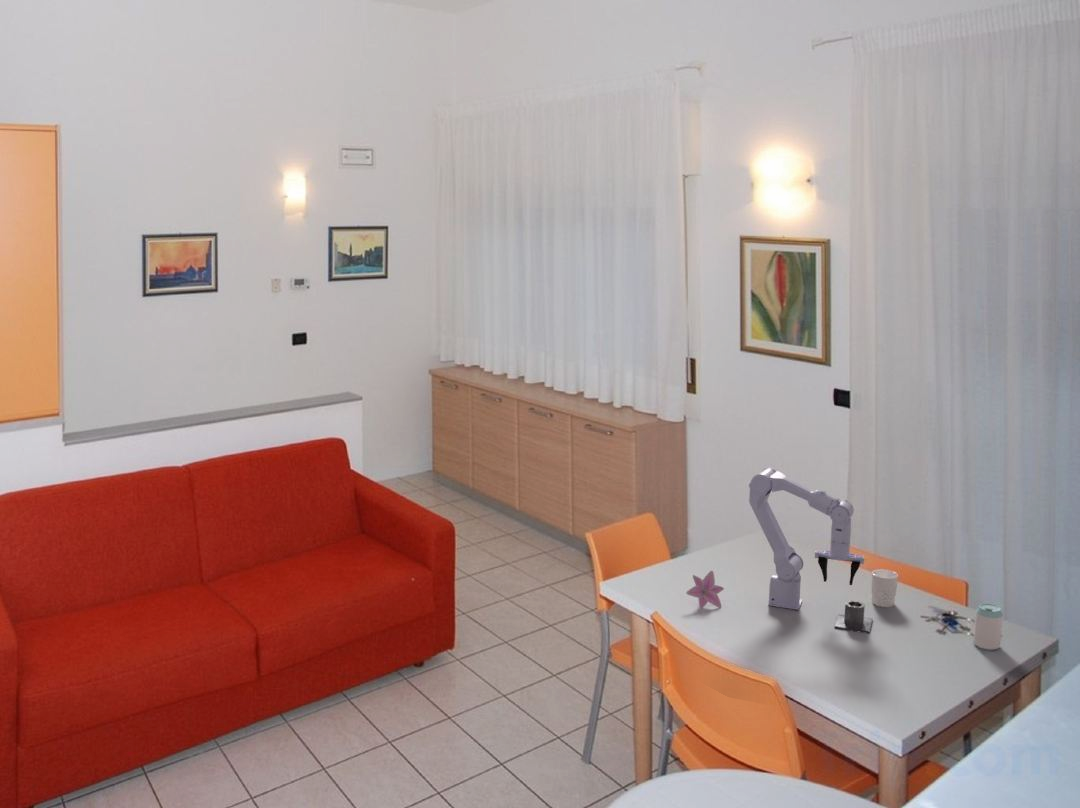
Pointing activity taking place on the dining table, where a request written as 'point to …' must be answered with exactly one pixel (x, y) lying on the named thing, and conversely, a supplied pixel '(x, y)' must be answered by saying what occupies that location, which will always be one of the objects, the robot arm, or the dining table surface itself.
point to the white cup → (884, 587)
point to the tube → (854, 613)
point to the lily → (706, 590)
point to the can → (988, 627)
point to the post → (842, 625)
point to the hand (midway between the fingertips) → (838, 582)
